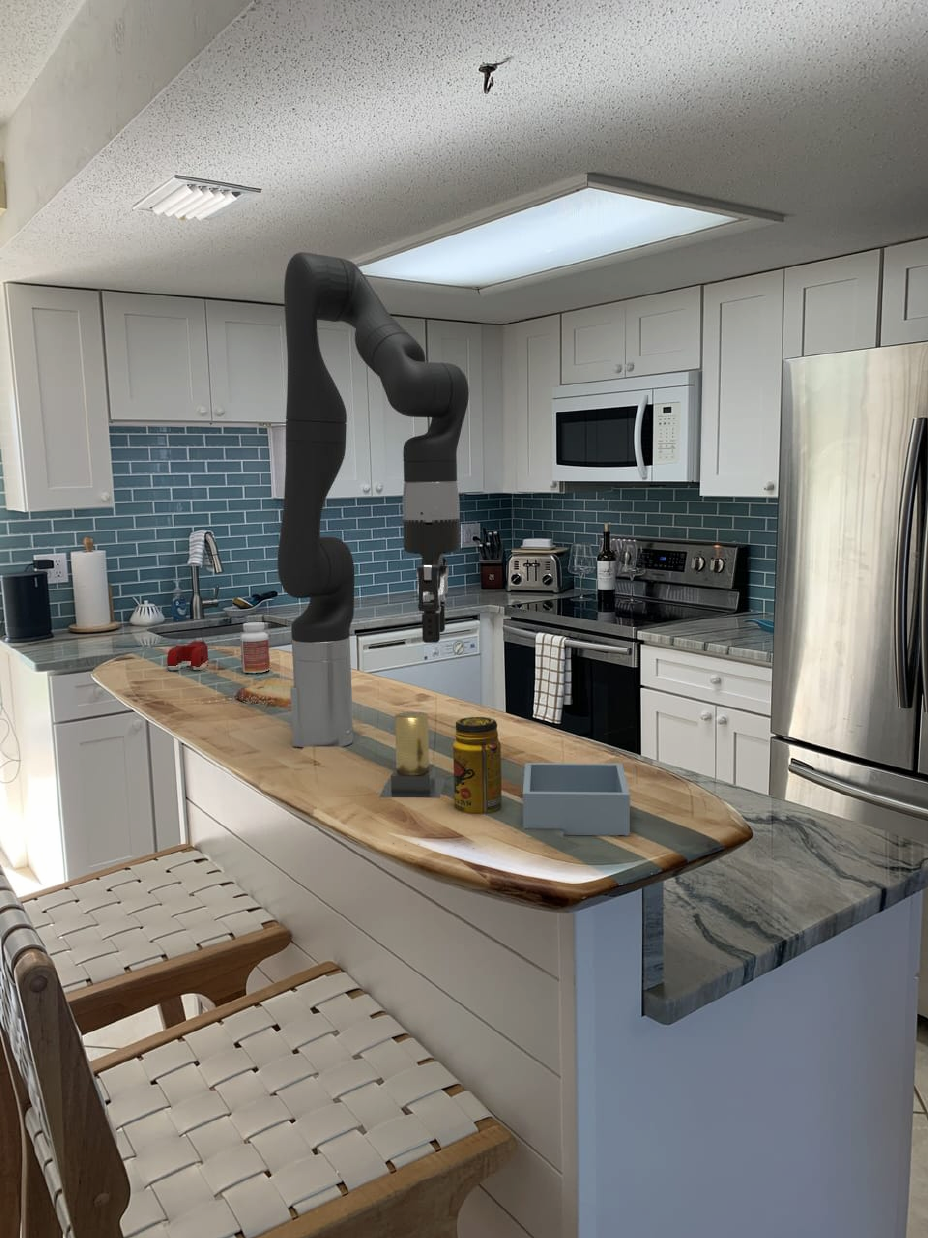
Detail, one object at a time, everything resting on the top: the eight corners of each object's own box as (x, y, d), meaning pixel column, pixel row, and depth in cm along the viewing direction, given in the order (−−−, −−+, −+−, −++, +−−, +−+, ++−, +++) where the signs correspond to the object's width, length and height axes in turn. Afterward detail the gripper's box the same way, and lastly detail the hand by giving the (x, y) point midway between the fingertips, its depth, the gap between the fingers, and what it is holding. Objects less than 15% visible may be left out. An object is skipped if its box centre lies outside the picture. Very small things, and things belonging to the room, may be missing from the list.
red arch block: (199, 672, 220) (198, 651, 219) (167, 673, 220) (166, 651, 219) (216, 659, 235) (215, 639, 235) (187, 660, 235) (185, 640, 235)
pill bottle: (275, 672, 218) (273, 623, 216) (251, 676, 214) (249, 626, 212) (260, 668, 222) (258, 620, 221) (236, 672, 218) (234, 623, 217)
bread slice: (343, 705, 186) (342, 686, 186) (248, 715, 180) (247, 695, 179) (320, 687, 203) (319, 669, 202) (232, 696, 196) (231, 677, 196)
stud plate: (379, 802, 128) (379, 796, 128) (389, 783, 136) (389, 778, 136) (439, 803, 128) (439, 797, 128) (445, 784, 136) (445, 778, 136)
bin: (523, 834, 116) (522, 793, 115) (525, 799, 129) (525, 763, 128) (629, 835, 115) (630, 795, 114) (621, 800, 127) (622, 763, 127)
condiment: (440, 814, 124) (438, 722, 122) (482, 796, 130) (480, 709, 129) (484, 826, 119) (483, 731, 118) (525, 807, 126) (525, 717, 124)
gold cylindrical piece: (391, 793, 130) (389, 720, 128) (397, 781, 135) (395, 710, 133) (430, 793, 129) (428, 720, 128) (434, 781, 134) (433, 710, 133)
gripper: (409, 514, 136) (412, 629, 139) (396, 519, 122) (400, 646, 125) (462, 514, 136) (465, 628, 138) (456, 518, 122) (458, 645, 124)
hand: (434, 637), depth 132 cm, fingers open, 8 cm apart
